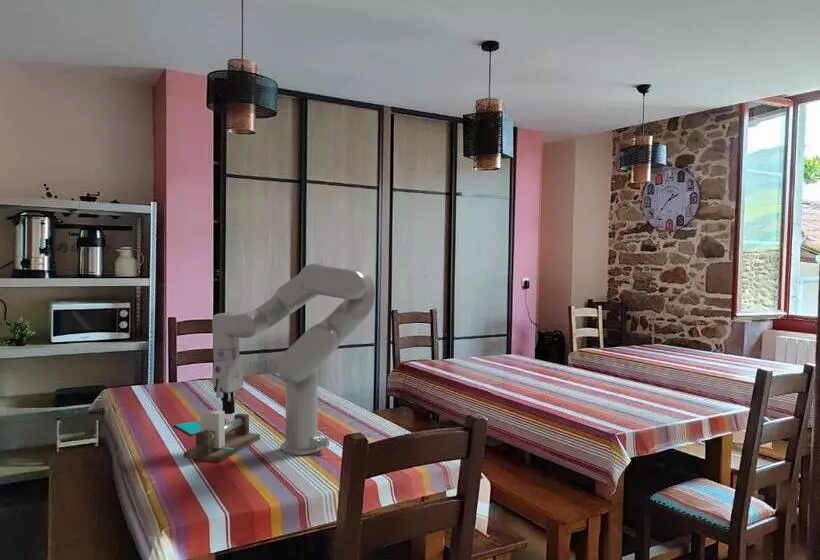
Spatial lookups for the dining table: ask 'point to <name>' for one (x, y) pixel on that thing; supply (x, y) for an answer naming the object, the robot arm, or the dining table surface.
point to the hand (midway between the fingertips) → (228, 413)
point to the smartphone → (189, 427)
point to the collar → (214, 425)
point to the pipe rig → (232, 441)
